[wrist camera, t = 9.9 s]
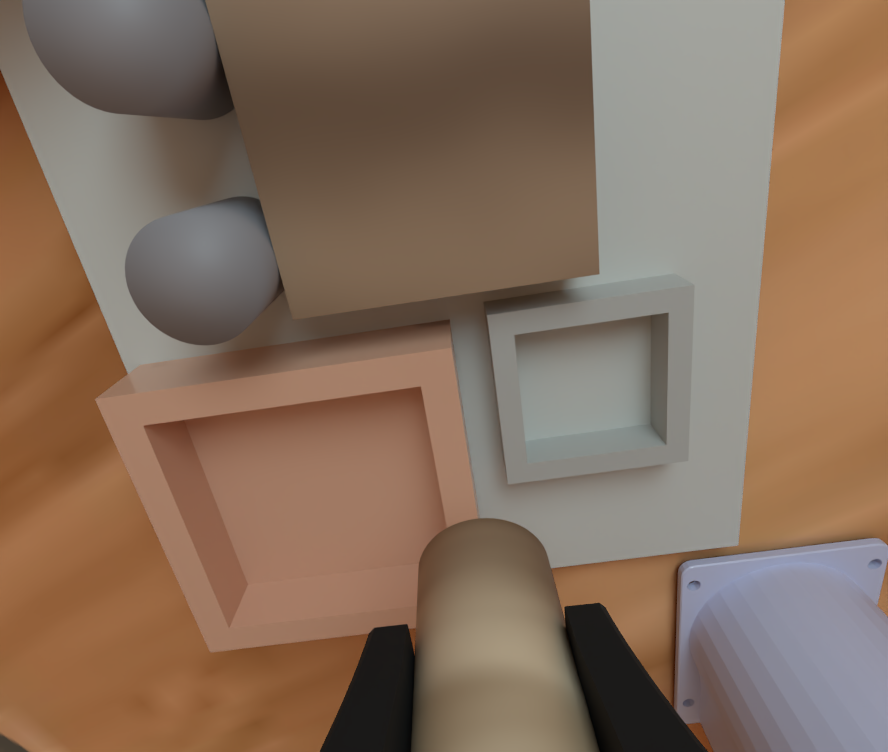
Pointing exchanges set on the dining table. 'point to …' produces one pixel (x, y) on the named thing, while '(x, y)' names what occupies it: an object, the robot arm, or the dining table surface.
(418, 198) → the square tan tile
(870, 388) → the dining table surface
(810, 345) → the dining table surface
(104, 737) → the dining table surface
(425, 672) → the dowel
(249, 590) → the tray
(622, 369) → the jig board
